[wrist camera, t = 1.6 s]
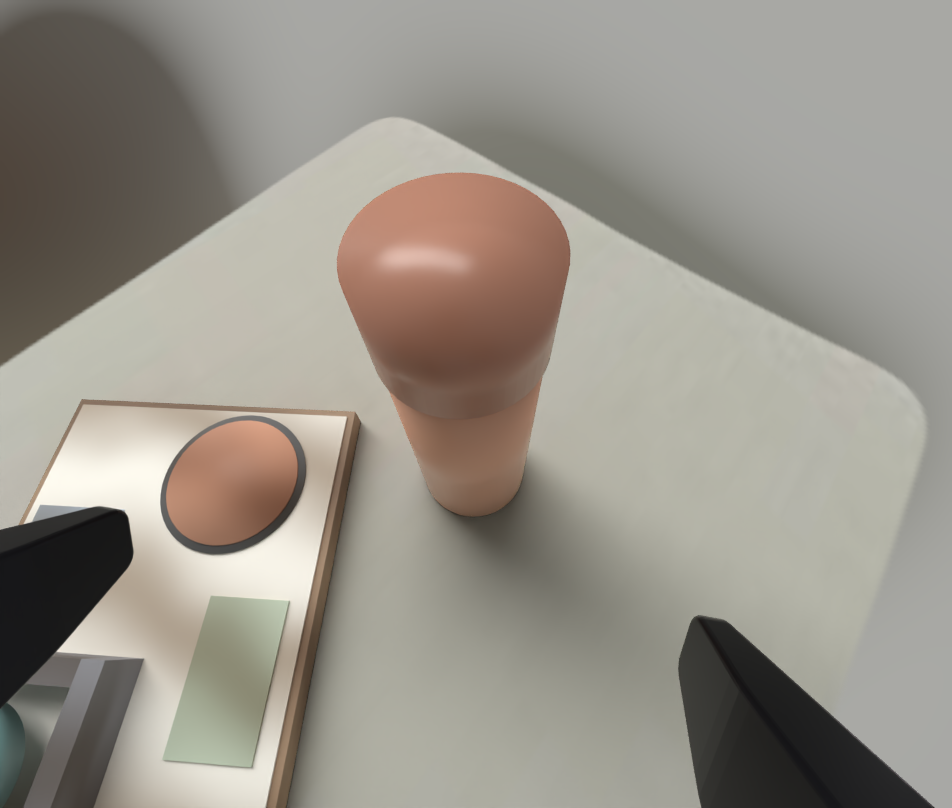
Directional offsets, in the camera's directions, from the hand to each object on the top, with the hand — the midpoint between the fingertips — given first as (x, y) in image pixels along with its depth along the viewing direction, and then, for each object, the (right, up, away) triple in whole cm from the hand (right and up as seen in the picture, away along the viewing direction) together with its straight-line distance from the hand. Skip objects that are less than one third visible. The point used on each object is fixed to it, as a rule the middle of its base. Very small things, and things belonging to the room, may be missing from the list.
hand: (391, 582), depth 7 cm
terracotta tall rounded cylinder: (+1, 0, +14) cm, 14 cm away
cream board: (-11, -5, +11) cm, 17 cm away
